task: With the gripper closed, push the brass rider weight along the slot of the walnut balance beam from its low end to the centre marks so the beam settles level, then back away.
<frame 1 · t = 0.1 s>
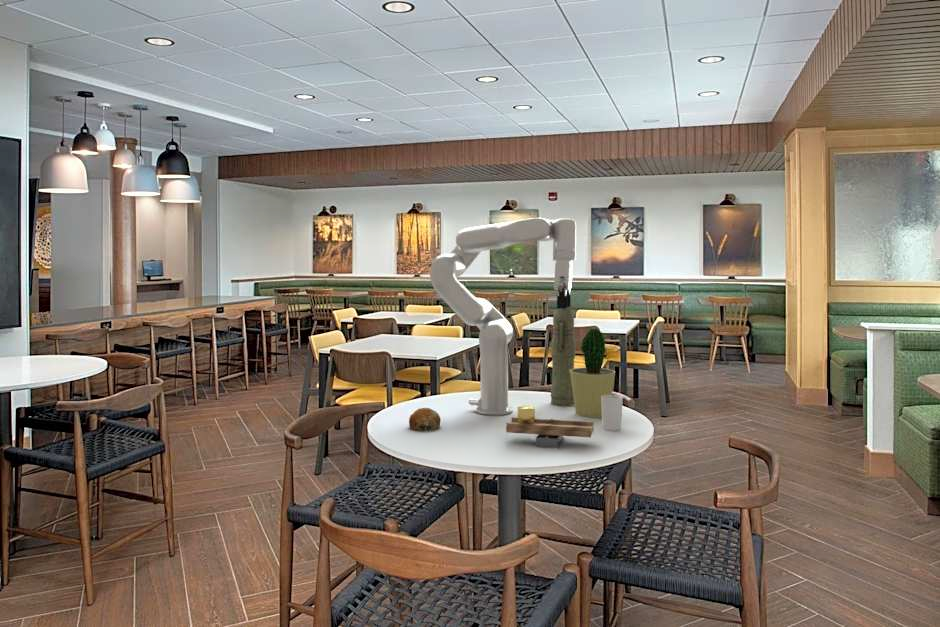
hand: (563, 307, 238), 37 cm above the table, tool pointing down, fingers open, 9 cm apart
bread roll: (424, 428, 224), on the table
rider: (526, 424, 207), point 5 cm above the table, touching beam
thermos: (562, 403, 262), on the table
fulcrum: (550, 442, 206), on the table
beam: (550, 426, 205), point 5 cm above the table, hinge at -0.3°, touching rider
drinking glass: (611, 428, 223), on the table
potted cactus: (591, 414, 244), on the table
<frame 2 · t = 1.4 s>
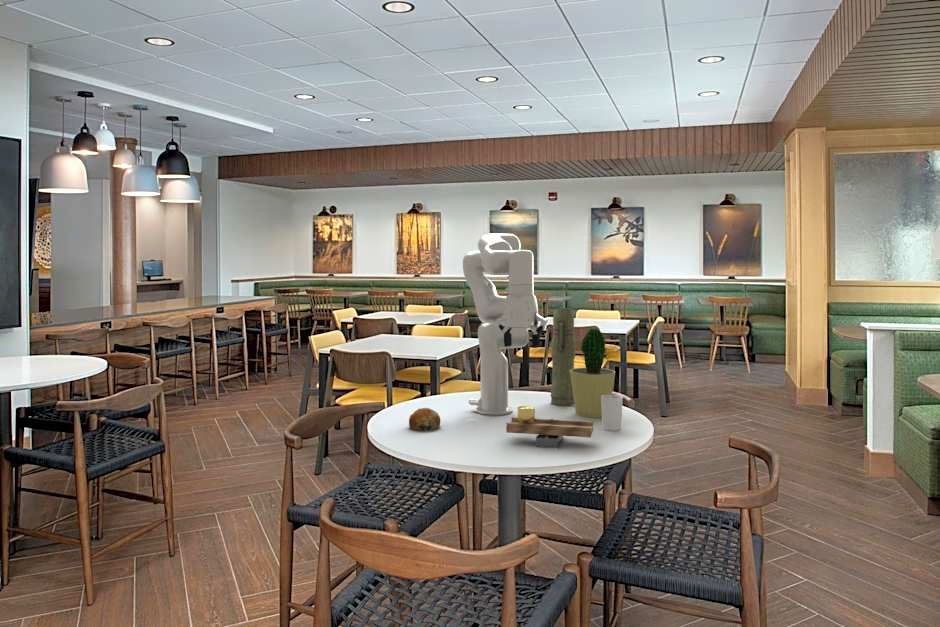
hand: (521, 346, 217), 26 cm above the table, tool pointing down, fingers open, 9 cm apart
nothing on the table moved.
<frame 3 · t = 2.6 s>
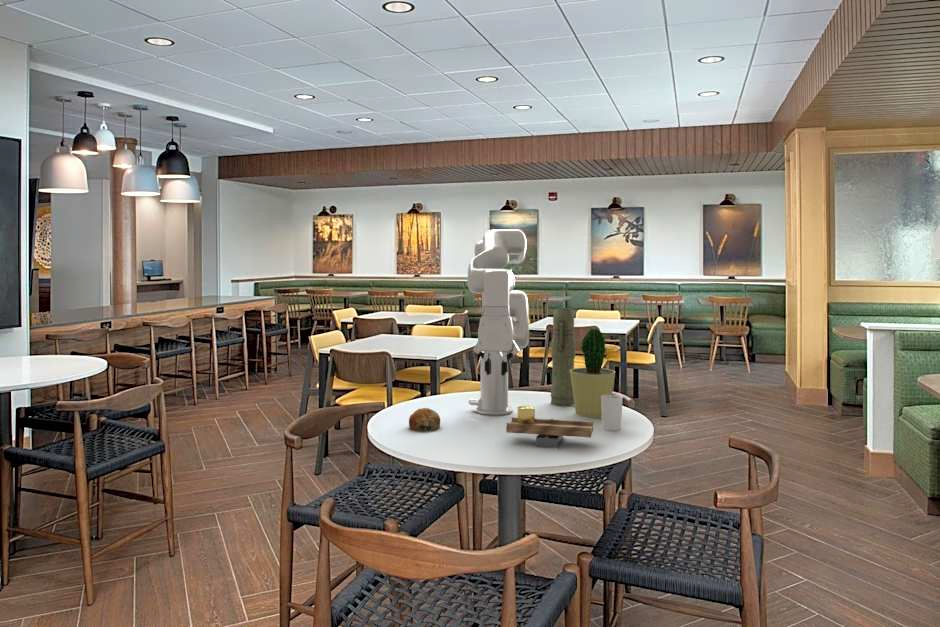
hand: (496, 373, 209), 19 cm above the table, tool pointing down, fingers open, 3 cm apart
nothing on the table moved.
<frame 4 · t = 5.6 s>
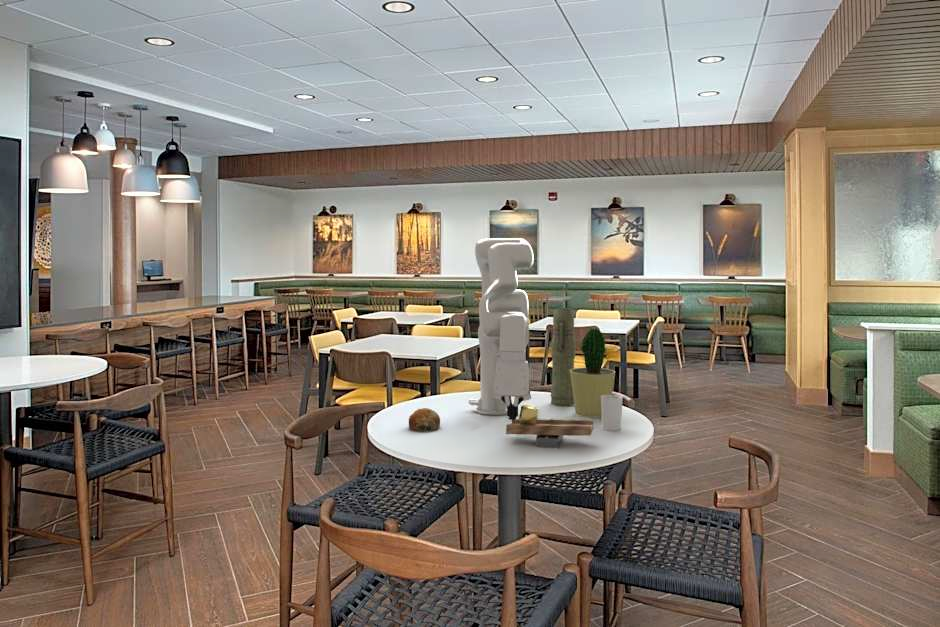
hand: (512, 418, 208), 6 cm above the table, tool pointing down, fingers closed
rider: (526, 424, 207), point 5 cm above the table, tilted 9°, touching beam, gripper
beam: (550, 426, 205), point 5 cm above the table, hinge at -2.7°, touching rider
everything else where it was.
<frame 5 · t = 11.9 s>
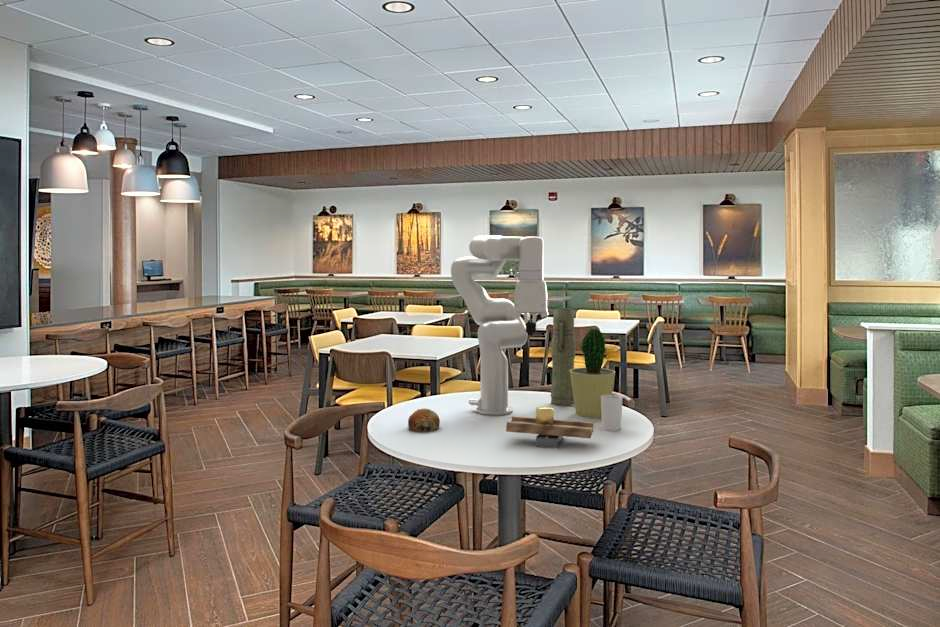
hand: (530, 335, 223), 29 cm above the table, tool pointing down, fingers closed
rider: (544, 425, 205), point 5 cm above the table, touching beam
beam: (550, 426, 205), point 5 cm above the table, hinge at 1.2°, touching rider
at the end: rider 1.6 cm off-centre on the beam, point 1.0 cm above the beam's base; beam at +1° (first picture: +0°); rider touching beam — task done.
